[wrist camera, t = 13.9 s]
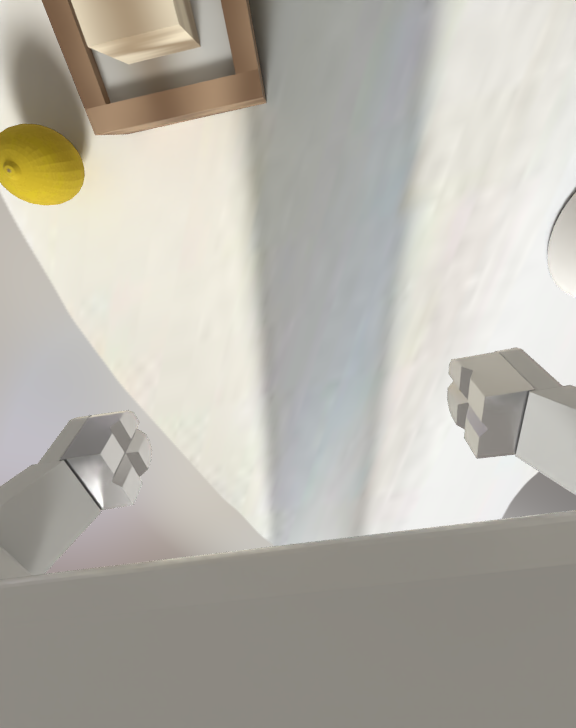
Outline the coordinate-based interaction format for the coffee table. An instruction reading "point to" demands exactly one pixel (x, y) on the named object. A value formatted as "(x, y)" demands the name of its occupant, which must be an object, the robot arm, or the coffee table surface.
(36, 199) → the lemon
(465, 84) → the coffee table surface
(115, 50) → the ash block
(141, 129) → the walnut frame
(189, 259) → the coffee table surface
